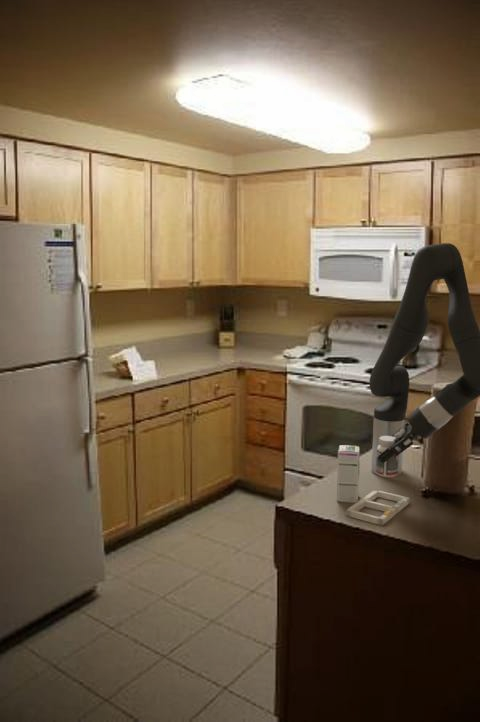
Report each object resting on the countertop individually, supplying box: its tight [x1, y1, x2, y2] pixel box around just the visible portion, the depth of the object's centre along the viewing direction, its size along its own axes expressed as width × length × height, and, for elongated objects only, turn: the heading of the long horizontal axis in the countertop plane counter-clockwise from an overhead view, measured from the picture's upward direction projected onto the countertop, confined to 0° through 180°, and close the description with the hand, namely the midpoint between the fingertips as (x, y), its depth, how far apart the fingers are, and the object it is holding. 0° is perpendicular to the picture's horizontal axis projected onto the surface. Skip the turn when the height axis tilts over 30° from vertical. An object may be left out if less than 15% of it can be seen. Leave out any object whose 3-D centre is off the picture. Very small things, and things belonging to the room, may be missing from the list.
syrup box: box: [336, 444, 360, 504], centre depth 172 cm, size 6×6×14 cm
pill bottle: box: [376, 436, 399, 478], centre depth 168 cm, size 6×6×10 cm
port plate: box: [345, 489, 410, 526], centre depth 166 cm, size 18×10×2 cm, turn 144°
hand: (380, 456), depth 168 cm, fingers closed on pill bottle, 5 cm apart
